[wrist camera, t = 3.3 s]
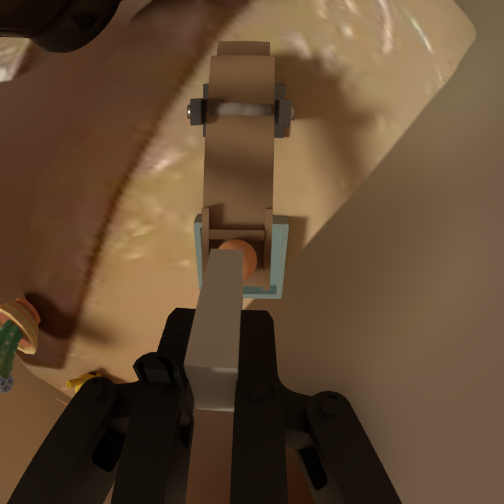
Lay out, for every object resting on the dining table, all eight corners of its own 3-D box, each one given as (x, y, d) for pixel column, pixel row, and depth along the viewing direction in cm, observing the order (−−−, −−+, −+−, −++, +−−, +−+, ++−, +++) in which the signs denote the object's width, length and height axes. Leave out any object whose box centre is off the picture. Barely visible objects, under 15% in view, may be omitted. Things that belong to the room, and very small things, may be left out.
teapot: (123, 379, 61) (112, 413, 52) (121, 398, 68) (112, 428, 58) (76, 358, 58) (61, 389, 49) (79, 380, 65) (67, 408, 55)
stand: (204, 84, 29) (181, 74, 19) (284, 85, 29) (301, 75, 19) (204, 135, 33) (182, 151, 22) (282, 137, 33) (296, 152, 23)
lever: (217, 54, 24) (211, 30, 19) (271, 55, 24) (275, 31, 19) (209, 273, 29) (201, 289, 24) (266, 275, 29) (270, 291, 24)
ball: (216, 232, 23) (211, 250, 20) (257, 233, 24) (258, 251, 20) (217, 268, 25) (212, 289, 22) (256, 269, 25) (256, 290, 22)
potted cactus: (36, 338, 56) (0, 405, 34) (1, 297, 49) (-45, 361, 27) (59, 326, 52) (15, 407, 30) (18, 278, 45) (-40, 353, 23)
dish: (197, 214, 38) (193, 222, 36) (286, 216, 39) (289, 224, 36) (202, 285, 45) (200, 296, 42) (279, 287, 45) (281, 298, 43)
